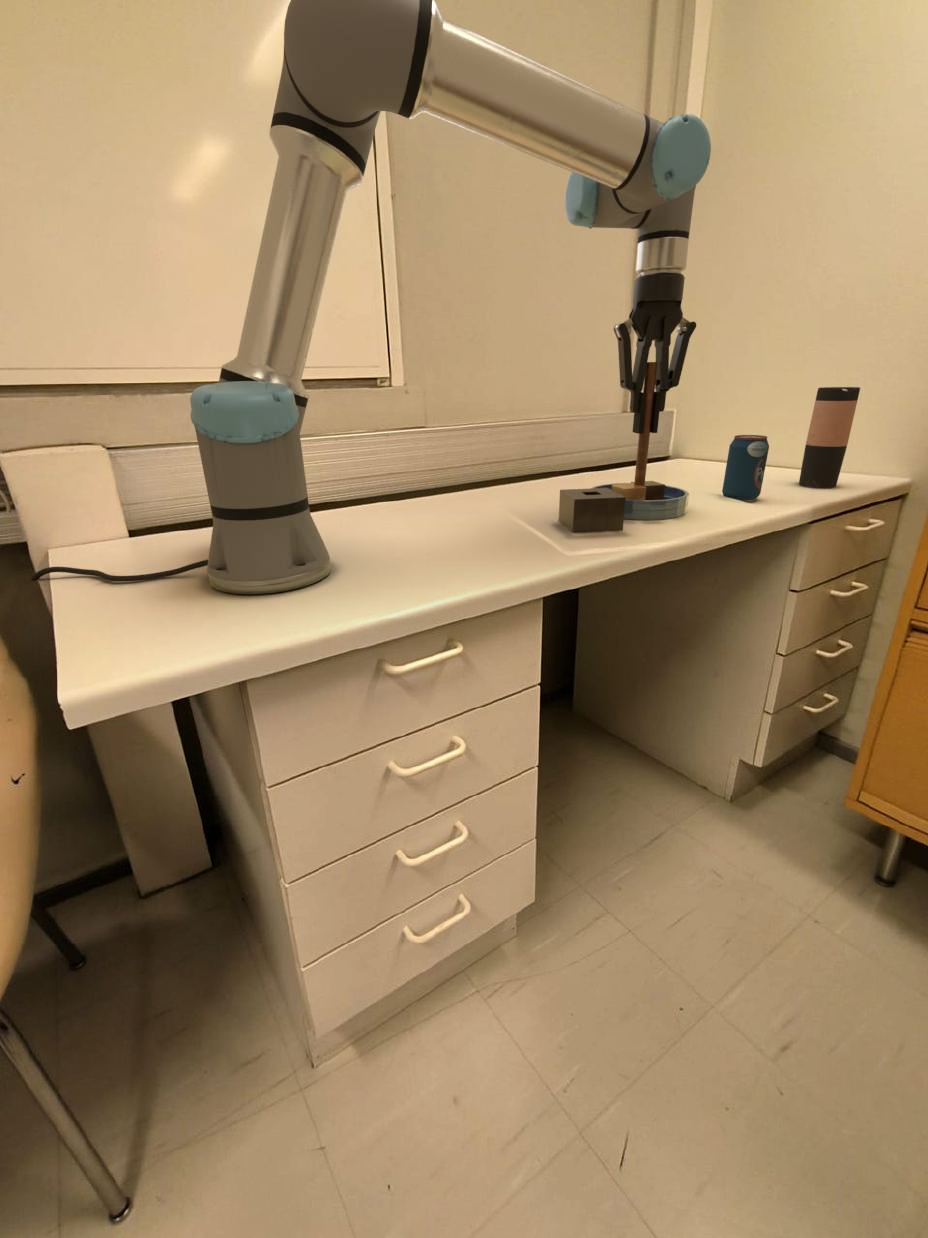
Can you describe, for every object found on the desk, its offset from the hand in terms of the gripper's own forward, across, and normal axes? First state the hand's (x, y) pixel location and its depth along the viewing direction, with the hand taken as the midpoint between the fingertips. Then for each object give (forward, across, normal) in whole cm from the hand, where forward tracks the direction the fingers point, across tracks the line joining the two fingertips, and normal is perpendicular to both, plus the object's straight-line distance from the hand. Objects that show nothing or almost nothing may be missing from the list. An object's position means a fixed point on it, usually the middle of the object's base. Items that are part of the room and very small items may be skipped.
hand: (644, 432), depth 97 cm
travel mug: (+15, -49, -18) cm, 54 cm away
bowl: (+14, 0, 0) cm, 14 cm away
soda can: (+15, -25, -8) cm, 30 cm away
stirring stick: (+9, 0, 0) cm, 9 cm away
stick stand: (+14, +12, +10) cm, 21 cm away
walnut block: (+13, -2, -1) cm, 14 cm away
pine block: (+13, +2, +1) cm, 14 cm away
